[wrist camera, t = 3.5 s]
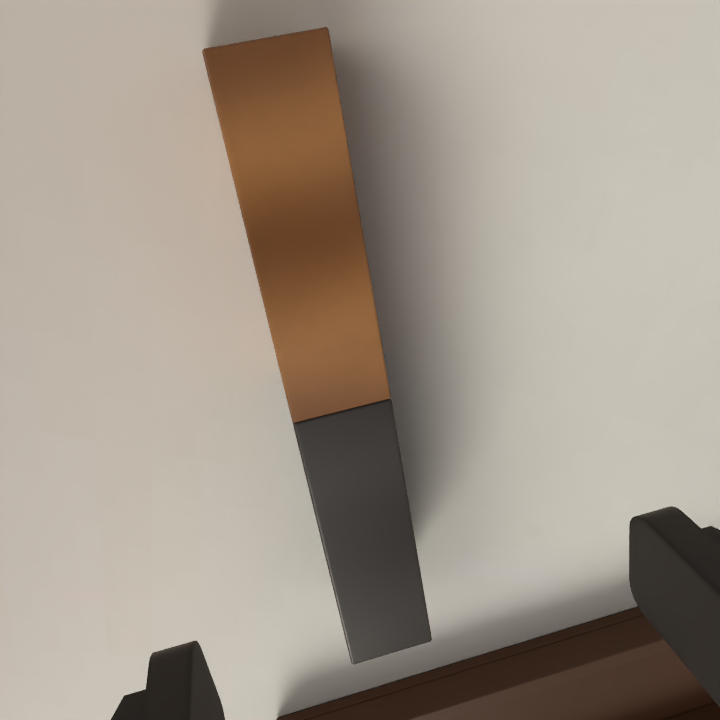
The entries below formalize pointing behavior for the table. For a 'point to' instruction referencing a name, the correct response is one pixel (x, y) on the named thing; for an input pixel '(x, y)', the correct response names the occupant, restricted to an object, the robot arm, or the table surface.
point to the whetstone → (323, 323)
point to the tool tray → (545, 682)
